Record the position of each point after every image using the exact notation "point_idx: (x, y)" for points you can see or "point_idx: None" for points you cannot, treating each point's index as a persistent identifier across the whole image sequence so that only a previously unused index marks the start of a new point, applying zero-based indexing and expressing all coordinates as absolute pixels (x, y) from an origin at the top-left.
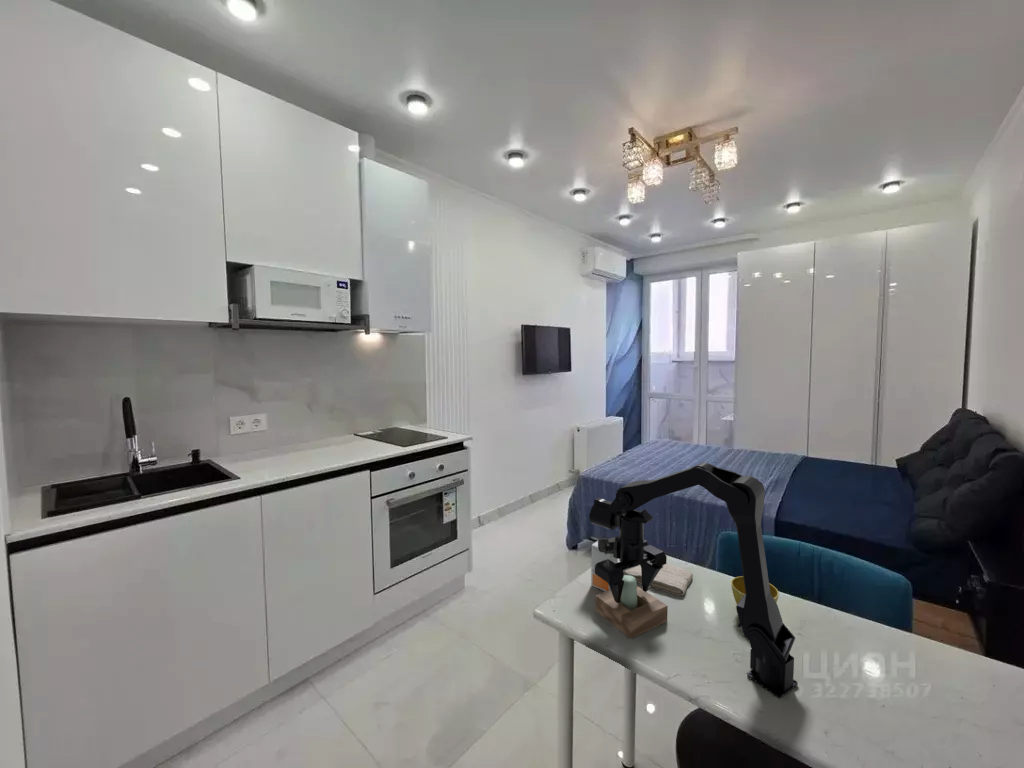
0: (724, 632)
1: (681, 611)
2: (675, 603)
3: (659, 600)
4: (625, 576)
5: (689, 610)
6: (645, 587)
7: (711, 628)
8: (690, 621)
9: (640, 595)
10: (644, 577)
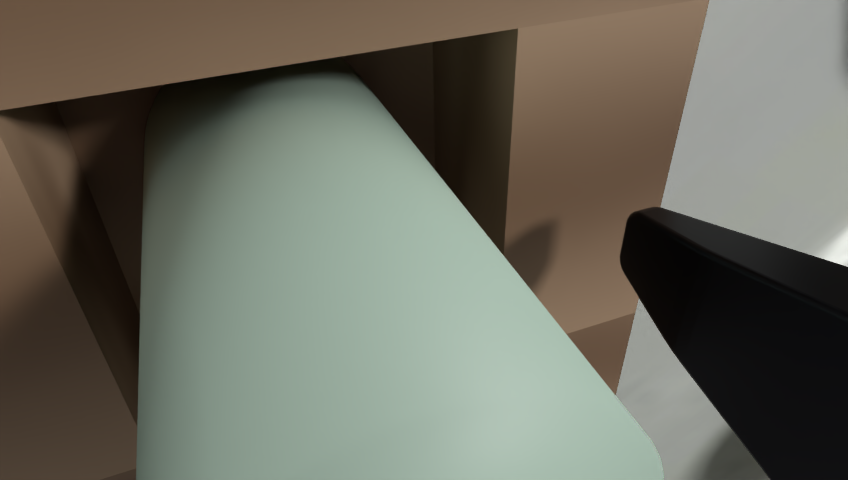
0: (691, 422)
1: (715, 221)
2: (786, 117)
3: (627, 335)
4: (492, 462)
5: (763, 226)
6: (668, 310)
7: (676, 392)
8: (651, 325)
9: (537, 200)
10: (833, 390)
